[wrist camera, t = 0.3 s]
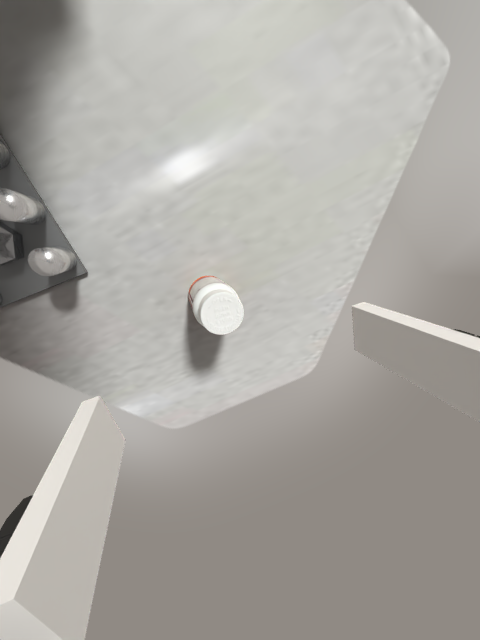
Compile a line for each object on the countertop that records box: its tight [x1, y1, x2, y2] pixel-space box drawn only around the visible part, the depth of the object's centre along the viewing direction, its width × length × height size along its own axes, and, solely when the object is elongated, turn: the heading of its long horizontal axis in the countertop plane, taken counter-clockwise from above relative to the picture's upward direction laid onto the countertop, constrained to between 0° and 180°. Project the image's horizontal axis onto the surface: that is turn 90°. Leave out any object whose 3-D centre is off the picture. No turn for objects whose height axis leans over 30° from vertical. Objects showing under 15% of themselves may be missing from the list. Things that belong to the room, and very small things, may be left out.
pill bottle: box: [188, 276, 244, 335], centre depth 33 cm, size 6×6×11 cm
